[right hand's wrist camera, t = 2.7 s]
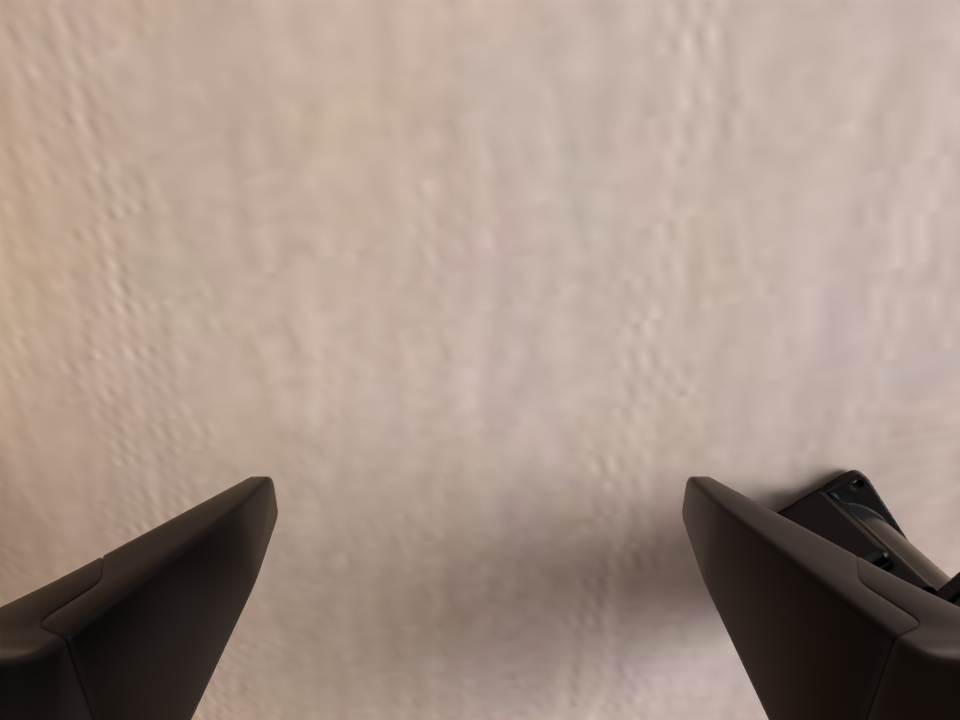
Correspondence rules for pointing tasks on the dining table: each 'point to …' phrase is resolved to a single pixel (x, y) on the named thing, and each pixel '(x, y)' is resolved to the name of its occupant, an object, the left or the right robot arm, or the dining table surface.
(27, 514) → the dining table surface
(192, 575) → the right robot arm
